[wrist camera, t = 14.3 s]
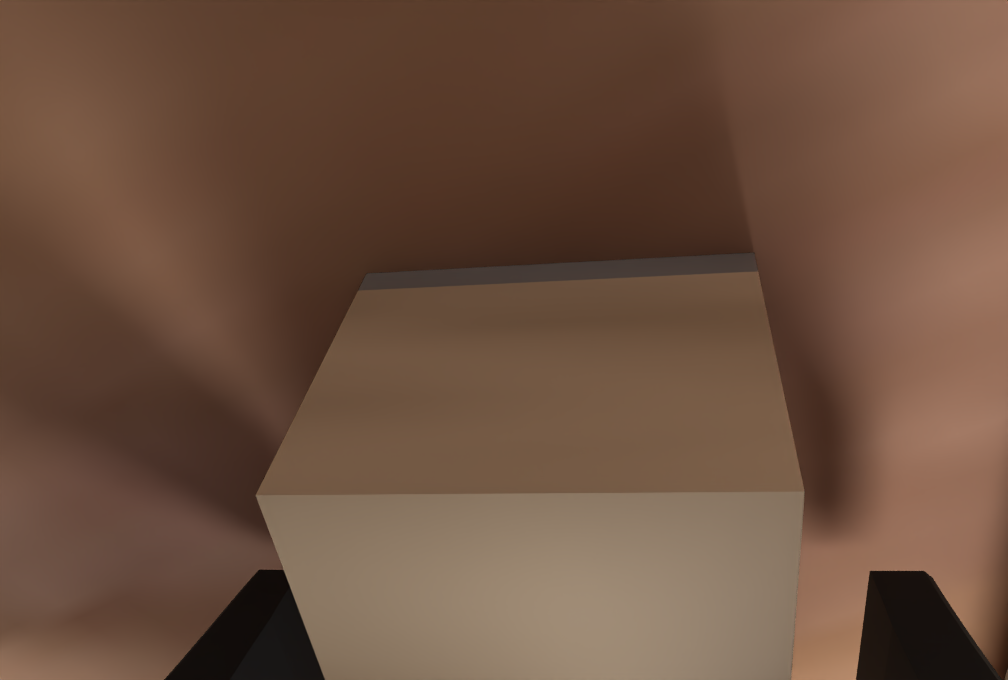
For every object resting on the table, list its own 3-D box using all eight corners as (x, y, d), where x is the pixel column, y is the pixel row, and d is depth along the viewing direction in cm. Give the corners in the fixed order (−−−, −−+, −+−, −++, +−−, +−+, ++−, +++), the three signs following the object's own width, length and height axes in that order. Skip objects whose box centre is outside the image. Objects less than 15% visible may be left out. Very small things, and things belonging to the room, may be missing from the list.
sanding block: (741, 685, 15) (770, 963, 11) (468, 676, 15) (421, 935, 12) (752, 245, 10) (804, 491, 7) (370, 265, 11) (255, 494, 8)
